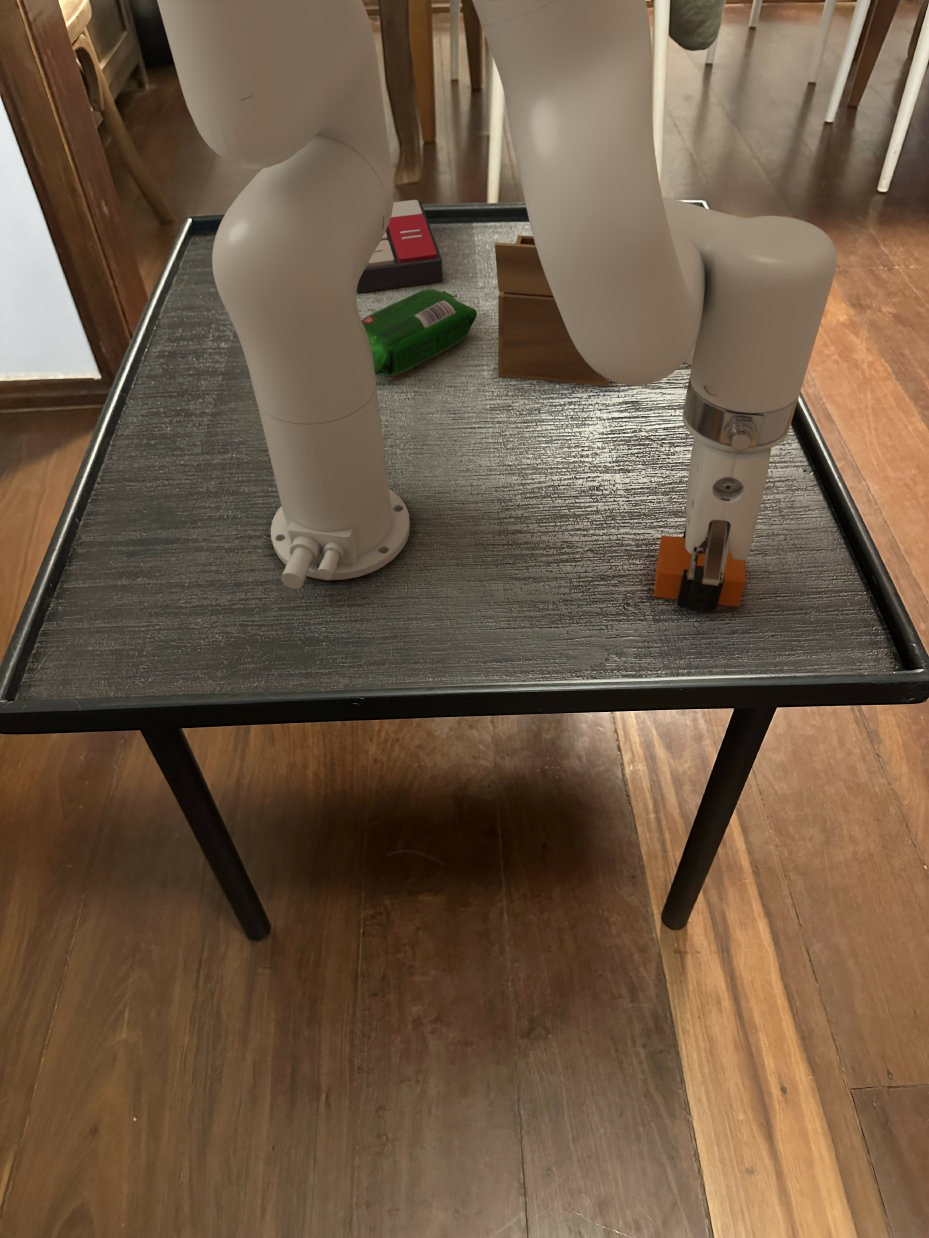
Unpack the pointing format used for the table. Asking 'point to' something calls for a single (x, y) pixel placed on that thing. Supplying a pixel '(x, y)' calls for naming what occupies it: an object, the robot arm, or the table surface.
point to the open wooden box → (538, 340)
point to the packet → (677, 559)
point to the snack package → (416, 330)
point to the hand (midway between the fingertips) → (697, 578)
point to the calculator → (403, 252)
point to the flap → (520, 269)
